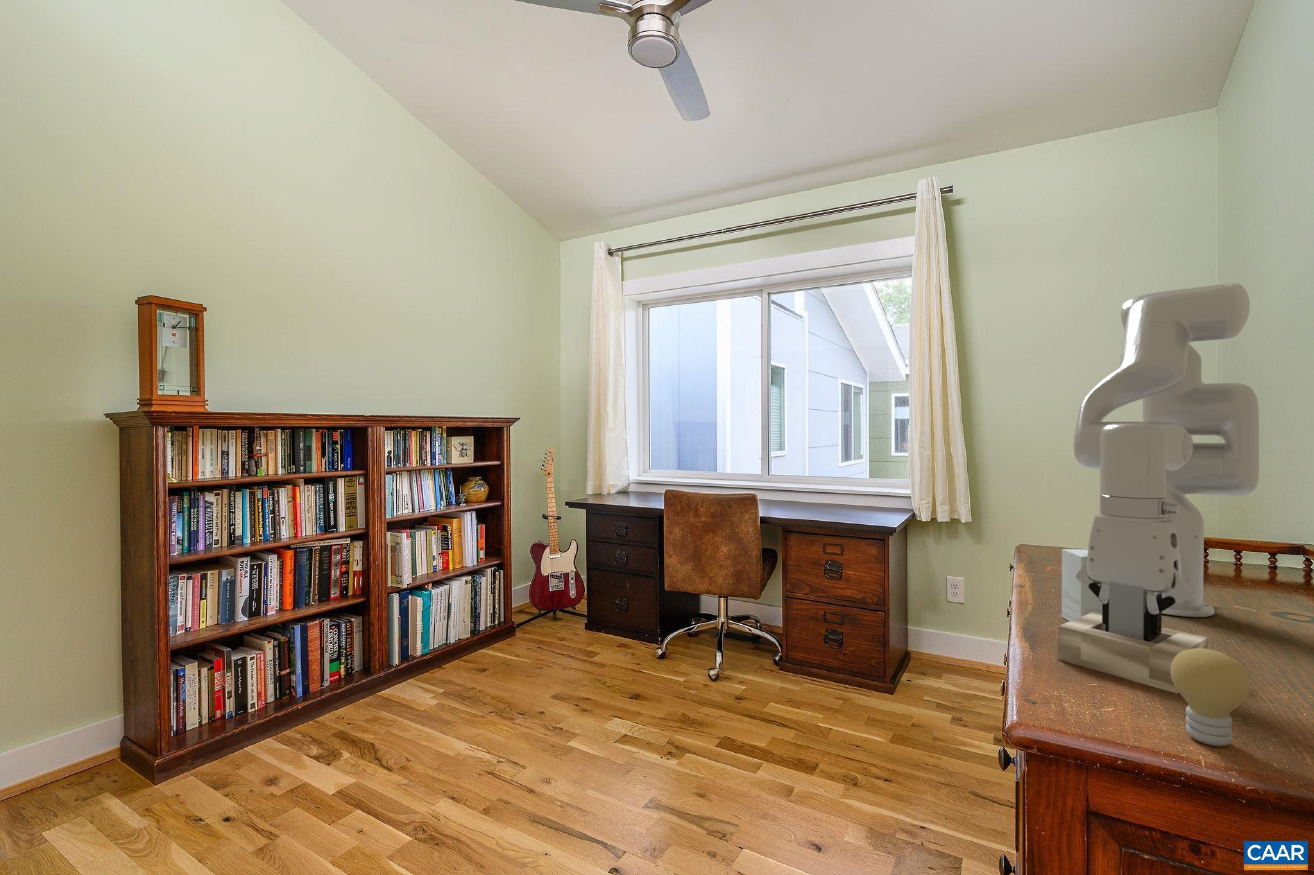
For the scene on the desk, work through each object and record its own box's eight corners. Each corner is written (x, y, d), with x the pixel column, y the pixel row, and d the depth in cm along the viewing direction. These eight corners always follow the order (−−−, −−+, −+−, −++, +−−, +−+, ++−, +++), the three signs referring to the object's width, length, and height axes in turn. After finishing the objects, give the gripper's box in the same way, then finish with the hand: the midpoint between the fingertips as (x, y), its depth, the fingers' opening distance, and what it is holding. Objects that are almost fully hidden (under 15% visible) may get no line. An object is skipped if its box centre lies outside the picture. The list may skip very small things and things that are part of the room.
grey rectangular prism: (1119, 642, 90) (1120, 576, 90) (1152, 650, 87) (1153, 581, 86) (1108, 648, 88) (1109, 579, 88) (1142, 656, 84) (1142, 585, 84)
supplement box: (1129, 632, 101) (1129, 558, 101) (1079, 630, 103) (1080, 556, 103) (1105, 619, 109) (1106, 549, 108) (1060, 616, 110) (1060, 547, 110)
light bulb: (1155, 727, 69) (1155, 641, 69) (1206, 725, 70) (1207, 639, 70) (1210, 757, 63) (1211, 662, 63) (1266, 754, 63) (1267, 660, 63)
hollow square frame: (1092, 643, 96) (1092, 612, 96) (1207, 672, 85) (1208, 637, 85) (1057, 659, 90) (1057, 626, 90) (1177, 693, 78) (1177, 655, 78)
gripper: (1217, 513, 82) (1215, 647, 82) (1077, 501, 96) (1077, 615, 96) (1198, 517, 78) (1197, 658, 78) (1056, 504, 92) (1055, 624, 92)
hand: (1130, 633), depth 87 cm, fingers closed on grey rectangular prism, 3 cm apart
